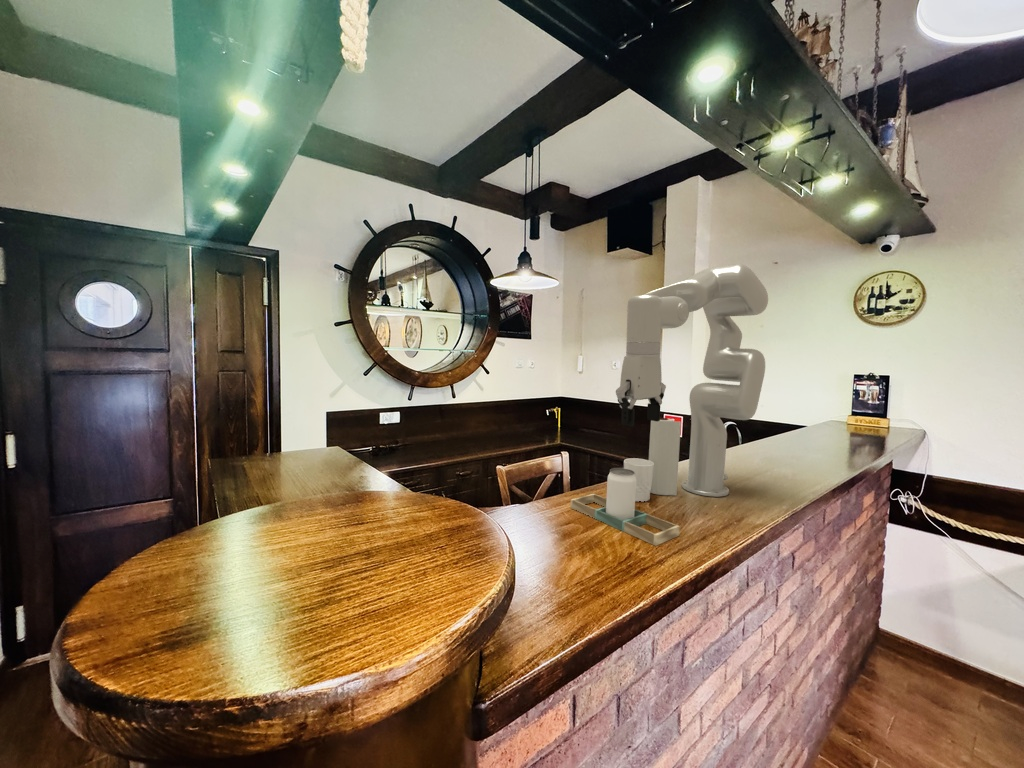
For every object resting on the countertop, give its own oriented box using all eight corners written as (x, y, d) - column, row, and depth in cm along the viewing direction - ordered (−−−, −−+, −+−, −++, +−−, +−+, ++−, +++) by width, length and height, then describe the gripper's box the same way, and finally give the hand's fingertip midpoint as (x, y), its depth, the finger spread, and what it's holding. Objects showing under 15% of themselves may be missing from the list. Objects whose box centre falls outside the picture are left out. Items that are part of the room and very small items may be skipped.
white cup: (648, 493, 118) (650, 459, 117) (654, 503, 110) (657, 466, 110) (619, 492, 119) (621, 457, 118) (624, 501, 111) (626, 464, 110)
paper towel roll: (642, 489, 122) (646, 416, 120) (660, 487, 124) (664, 416, 122) (658, 497, 115) (662, 421, 113) (676, 496, 117) (681, 420, 115)
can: (599, 517, 100) (602, 468, 99) (622, 514, 102) (624, 466, 101) (616, 528, 94) (619, 476, 93) (639, 525, 96) (642, 474, 95)
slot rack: (593, 501, 110) (593, 493, 110) (679, 535, 91) (679, 526, 91) (570, 508, 105) (570, 499, 105) (655, 545, 86) (656, 535, 86)
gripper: (651, 349, 105) (649, 416, 106) (605, 350, 94) (603, 424, 96) (679, 349, 98) (676, 421, 100) (632, 350, 88) (630, 430, 90)
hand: (640, 422), depth 98 cm, fingers open, 9 cm apart
